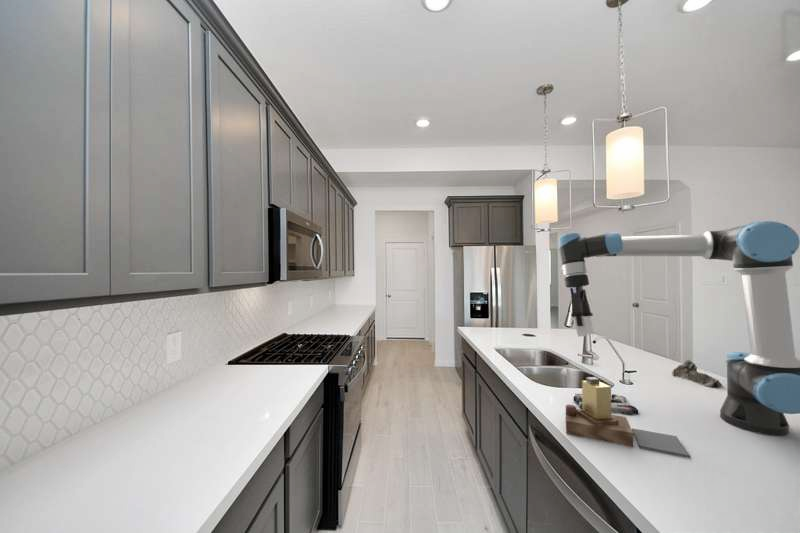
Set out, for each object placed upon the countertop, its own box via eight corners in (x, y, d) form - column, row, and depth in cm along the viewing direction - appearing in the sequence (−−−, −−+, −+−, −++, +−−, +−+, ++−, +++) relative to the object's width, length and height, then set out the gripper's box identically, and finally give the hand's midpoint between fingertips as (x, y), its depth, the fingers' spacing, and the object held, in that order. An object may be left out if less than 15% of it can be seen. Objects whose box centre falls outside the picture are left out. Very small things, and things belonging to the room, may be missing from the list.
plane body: (625, 429, 102) (625, 408, 102) (633, 447, 91) (633, 424, 91) (565, 418, 109) (565, 399, 109) (566, 433, 99) (566, 412, 99)
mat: (676, 438, 96) (676, 436, 96) (690, 458, 86) (690, 455, 86) (631, 430, 101) (631, 428, 101) (639, 448, 91) (639, 445, 91)
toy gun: (622, 400, 125) (643, 418, 111) (568, 395, 129) (581, 412, 114) (623, 393, 125) (644, 411, 111) (568, 388, 129) (581, 404, 114)
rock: (666, 372, 155) (674, 353, 154) (685, 380, 155) (694, 361, 155) (702, 389, 137) (711, 368, 136) (724, 398, 137) (733, 376, 137)
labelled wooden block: (596, 413, 104) (596, 376, 104) (611, 422, 98) (611, 382, 98) (582, 415, 103) (582, 377, 103) (596, 424, 97) (596, 383, 97)
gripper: (571, 280, 128) (581, 334, 124) (555, 273, 109) (566, 337, 105) (592, 277, 124) (603, 333, 119) (580, 270, 104) (592, 336, 100)
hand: (586, 335), depth 112 cm, fingers open, 13 cm apart
